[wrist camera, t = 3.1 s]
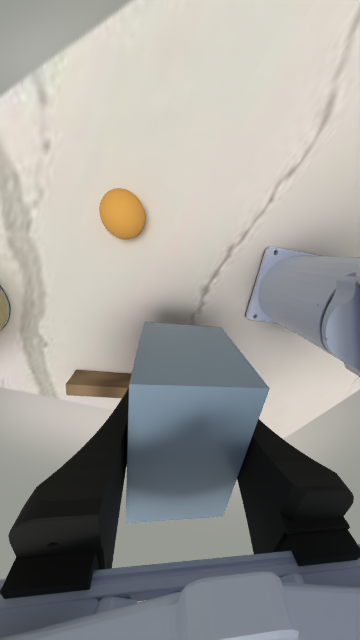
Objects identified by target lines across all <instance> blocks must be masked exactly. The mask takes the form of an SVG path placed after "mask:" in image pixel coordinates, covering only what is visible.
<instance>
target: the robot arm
mask: <svg viewBox="0 0 360 640" xmlns="http://www.w3.org/2000/svg"><path fill="white" fill-rule="evenodd" d="M275 250H276V254H275V255H274V254H273V252H274V251H275ZM255 314H256V316H255V317H253V315H255ZM246 318H247V319H249V320H255V321H263V322H271V323H278V324H281V325H283V326H285V327H286V328H288V329H290V330H291V331H293V332H295V333H296V334H298V335H300V336H301V337H303V338H305V339H306V340H308V341H310V342H311V343H313V344H315V345H316V346H318V347H320V348H321V349H323V350H325V351H326V352H328V353H330V354H331V355H333V356H334V357H336V358H338V359H339V360H341V361H343V362H344V364H345V367H346V368H347V369H348V370H350V371H351V372H353V373H355V374H356V375H358V376H359V377H360V258H357V257H324V256H319V255H314V254H309V253H304V252H298V251H293V250H288V249H283V248H278V247H268V248H267V249H266V250H265V253H264V256H263V259H262V263H261V266H260V269H259V273H258V276H257V279H256V283H255V286H254V289H253V292H252V296H251V299H250V302H249V306H248V309H247V312H246ZM128 410H129V388H128V389H127V391H126V393H125V395H124V396H123V398H122V400H121V401H120V403H119V404H118V406H117V407H116V409H115V410H114V411H113V413H112V414H111V416H110V417H109V418H108V420H107V421H106V422H105V423H104V425H103V426H102V427H101V428H100V429H99V431H97V433H96V434H95V435H94V436H93V437H92V438H91V439H90V440H89V441H88V442H87V443H86V444H85V446H84V447H82V448H81V449H80V451H78V452H77V453H76V454H75V455H74V456H73V457H72V458H71V459H70V460H69V461H67V462H66V463H65V464H64V465H63V466H62V467H61V468H60V469H58V470H57V471H56V472H55V473H53V474H52V475H51V476H50V477H49V478H47V479H46V480H45V481H44V482H42V483H41V484H40V485H39V486H38V487H36V489H35V490H34V492H33V493H32V495H31V496H30V498H29V499H28V501H27V502H26V504H25V505H24V507H23V509H22V510H21V512H20V514H19V516H18V518H17V519H16V521H15V523H14V525H13V527H12V529H11V530H10V533H9V540H10V544H11V546H12V548H13V550H14V553H15V555H16V559H15V561H14V563H13V566H12V567H11V570H10V572H9V574H8V576H7V578H6V579H1V580H0V640H360V544H357V543H356V542H355V540H354V539H353V537H352V536H351V534H350V533H349V531H348V529H349V528H350V527H349V524H348V523H347V521H346V520H345V518H344V517H343V516H344V515H345V513H346V512H347V511H348V509H349V508H350V507H351V505H352V503H353V497H354V496H353V494H352V492H351V491H350V490H349V489H348V487H347V486H346V485H345V484H344V482H343V481H342V480H341V478H340V477H339V476H338V475H337V473H335V472H333V471H332V470H330V469H328V468H326V467H325V466H323V465H321V464H319V463H318V462H316V461H314V460H313V459H311V458H309V457H308V456H306V455H305V454H303V453H302V452H300V451H299V450H297V449H296V448H294V447H293V446H291V445H290V444H289V443H287V442H286V441H284V440H283V439H282V438H280V437H279V436H278V435H277V434H275V433H274V432H273V431H272V430H271V429H269V428H268V427H267V426H266V425H265V424H263V423H262V422H261V421H260V420H259V419H258V422H257V424H256V427H255V430H254V433H253V435H252V438H251V441H250V444H249V446H248V449H247V452H246V455H245V458H244V460H243V463H242V466H241V469H240V471H239V474H238V477H237V480H238V483H239V488H240V492H241V496H242V500H243V504H244V509H245V513H246V518H247V522H248V527H249V531H250V537H251V542H252V547H253V552H254V554H253V555H243V556H234V557H223V558H213V559H203V560H193V561H183V562H172V563H162V564H152V565H142V566H133V567H122V568H112V562H113V554H114V547H115V540H116V532H117V525H118V518H119V510H120V503H121V497H122V491H123V484H124V478H125V470H126V466H127V450H128ZM144 600H146V601H144ZM137 601H143V602H139V603H138V602H137Z"/></svg>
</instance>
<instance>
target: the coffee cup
mask: <svg viewBox="0 0 360 640" xmlns="http://www.w3.org/2000/svg"><path fill="white" fill-rule="evenodd" d="M9 312H10V310H9V303H8V300H7V297H6V295H5V294H4V292H3V290H2V289H1V287H0V330H1V329H2V328H3V327H4V326H5V324H6V323H7V321H8V318H9Z"/></svg>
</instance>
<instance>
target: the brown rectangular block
mask: <svg viewBox="0 0 360 640" xmlns="http://www.w3.org/2000/svg"><path fill="white" fill-rule="evenodd" d="M131 375H132V374H124V373H110V372H97V371H83V370H76V371H75V373H74V374H73V375H72V377H71V378H70V379H69V381H68V382H67V383H66V393H67V395H74V396H92V397H111V398H123V396H124V395H125V393H126V391H127V389H128V388H129V383H130V379H131Z"/></svg>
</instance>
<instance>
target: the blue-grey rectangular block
mask: <svg viewBox="0 0 360 640" xmlns="http://www.w3.org/2000/svg"><path fill="white" fill-rule="evenodd" d="M269 389H270V388H269V387H268V386H267V385H266V383H265V382H264V381H263V380H262V378H261V377H260V376H259V374H258V373H257V372H256V371H255V369H254V368H253V367H252V366H251V364H250V363H249V362H248V361H247V359H246V358H245V357H244V356H243V354H242V353H241V352H240V350H239V349H238V348H237V347H236V345H235V344H234V343H233V342H232V340H231V339H230V338H229V337H228V335H227V334H226V333H225V332H224V330H223V329H222V328H221V327H209V326H196V325H183V324H169V323H156V322H145V323H144V327H143V331H142V335H141V339H140V343H139V347H138V351H137V355H136V359H135V363H134V367H133V371H132V375H131V379H130V383H129V410H128V450H127V490H126V492H127V493H126V523H136V522H151V521H165V520H180V519H195V518H209V517H223V515H224V513H225V510H226V507H227V504H228V501H229V499H230V496H231V493H232V490H233V487H234V485H235V482H236V480H237V477H238V474H239V471H240V469H241V466H242V463H243V460H244V458H245V455H246V452H247V449H248V446H249V444H250V441H251V438H252V435H253V433H254V430H255V427H256V424H257V422H258V419H259V416H260V413H261V411H262V408H263V405H264V402H265V400H266V397H267V394H268V391H269Z"/></svg>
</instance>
